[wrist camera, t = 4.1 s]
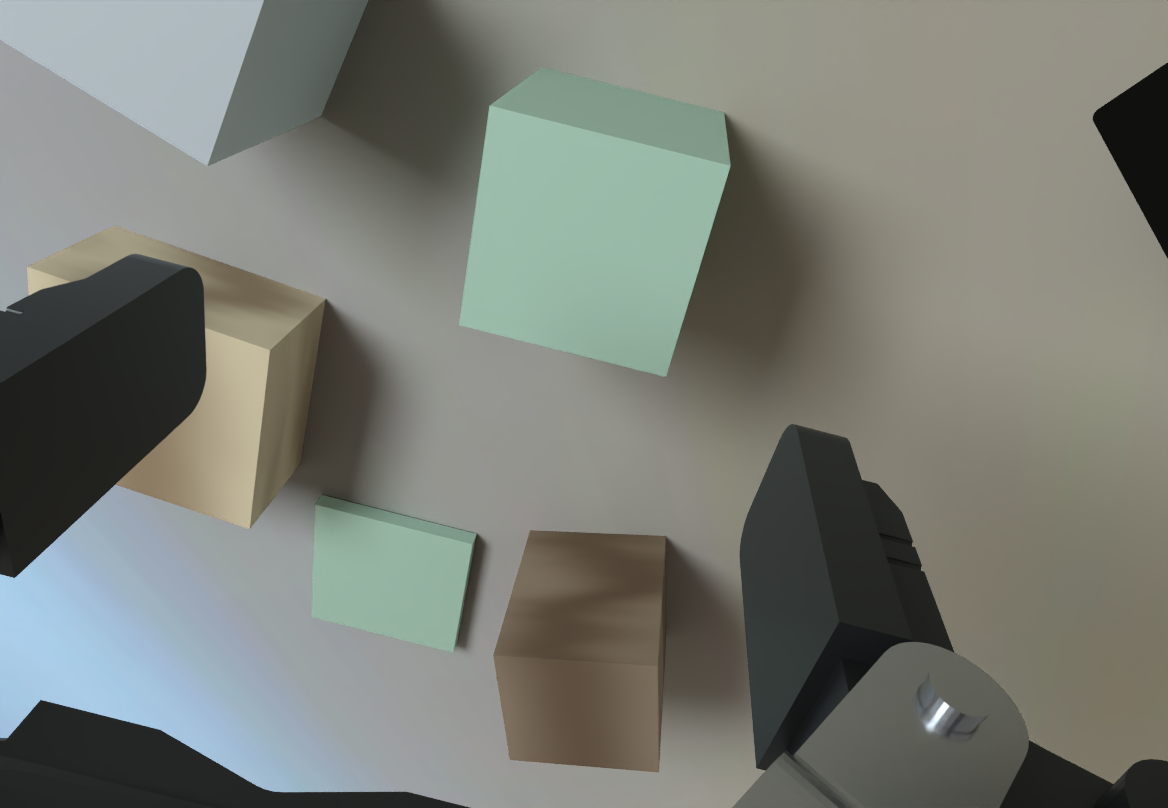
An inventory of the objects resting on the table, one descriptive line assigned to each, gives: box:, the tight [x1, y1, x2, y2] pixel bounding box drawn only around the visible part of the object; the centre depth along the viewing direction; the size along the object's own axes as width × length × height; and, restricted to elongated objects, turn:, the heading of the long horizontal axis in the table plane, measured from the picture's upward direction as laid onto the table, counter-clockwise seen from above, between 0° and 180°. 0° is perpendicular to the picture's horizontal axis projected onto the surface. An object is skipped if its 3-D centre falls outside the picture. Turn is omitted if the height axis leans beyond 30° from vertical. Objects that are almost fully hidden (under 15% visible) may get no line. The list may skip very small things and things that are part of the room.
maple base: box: [27, 226, 326, 529], centre depth 25 cm, size 7×7×4 cm
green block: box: [459, 67, 731, 377], centre depth 20 cm, size 5×5×6 cm
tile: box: [311, 495, 477, 653], centre depth 31 cm, size 6×6×1 cm
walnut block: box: [493, 531, 666, 772], centre depth 27 cm, size 5×5×6 cm
